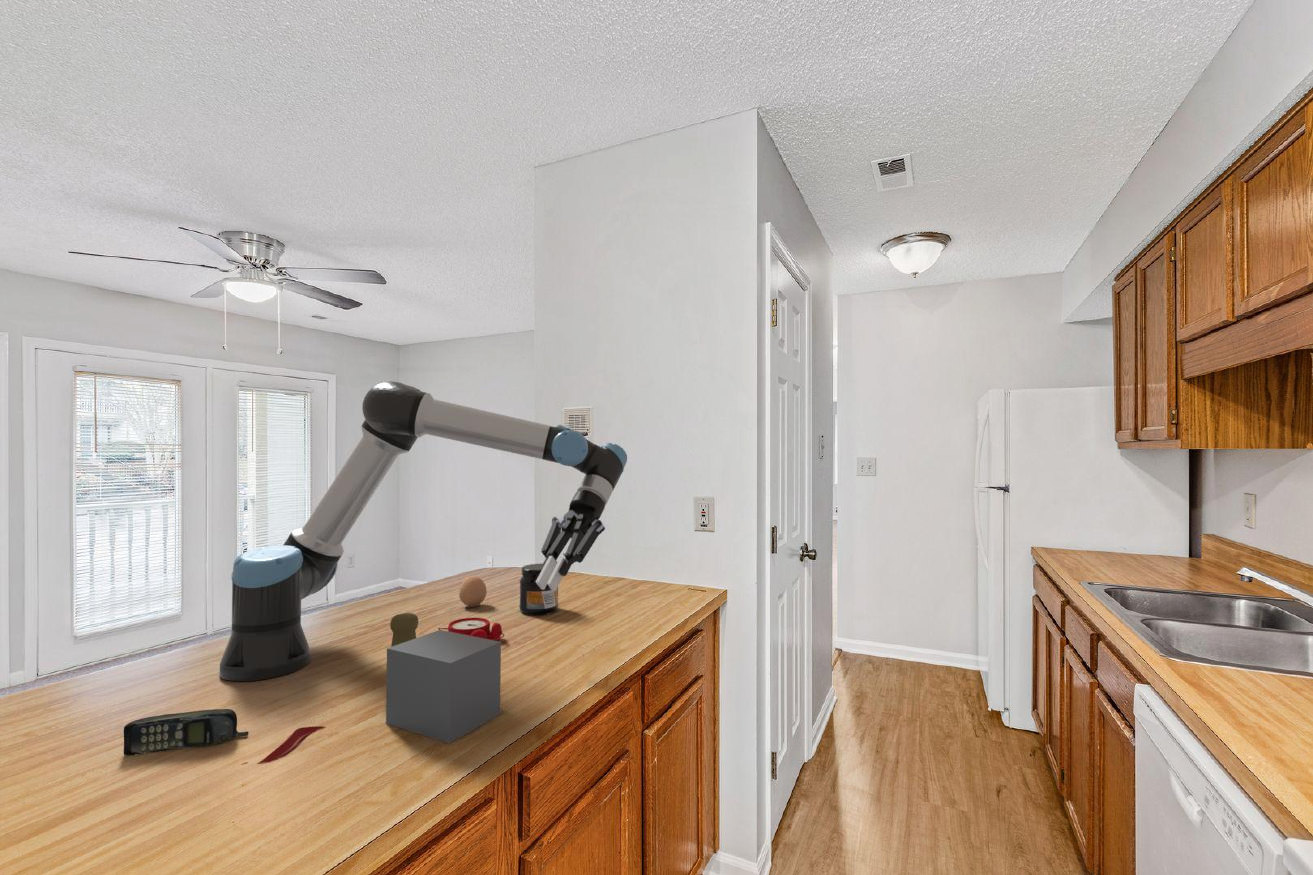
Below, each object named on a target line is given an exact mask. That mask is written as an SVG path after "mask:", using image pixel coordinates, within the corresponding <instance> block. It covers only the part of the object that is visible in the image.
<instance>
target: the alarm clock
mask: <svg viewBox="0 0 1313 875" xmlns="http://www.w3.org/2000/svg"><path fill="white" fill-rule="evenodd" d="M437 629H438V630H446V631H449V632H454V633H459V634H464V635H469V636H474V637H479V638H484V639H489V640H494V641H499V640H500V639H501V638H504V636H505V634H504V633H503V631H502V626H501V624H500V623H499V622H494V623H493V624H492V626H491V622H490V621H489V619H488V618H483V617H465V618H459V619H456V620H453V621H451V622H449V623H448V626H447V627H443V628H441V627H438V628H437Z"/></svg>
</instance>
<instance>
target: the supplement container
mask: <svg viewBox="0 0 1313 875" xmlns="http://www.w3.org/2000/svg"><path fill="white" fill-rule="evenodd" d="M542 564H543V563H532V564H526V565H523V566H522V567H521V577H520V579H519V605H518V606H519V607H518V608H519V610H520V612H521V613H522V614H524V615H528V616H529V615H530V616H543V615H549V614H553V613H555V612H556V611H557V610H558V609H559V586H558V587H557V589H556V591H552V590H551V588H550V587H549V586H548V584H547V585H546V587H545V589H544V590H542V589H541V588H540V587H539V586H538V584H537V583H536V580H537V578H538V576H539V575H540V573H541V566H542Z"/></svg>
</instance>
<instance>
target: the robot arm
mask: <svg viewBox="0 0 1313 875" xmlns="http://www.w3.org/2000/svg"><path fill="white" fill-rule="evenodd" d="M361 409H362V415H363V417H364V420H363V422H362V424H361V426H360V428H361V432H362V437H361V439H360V440H359V442H358V443H357V445H356V447H355V448H354V449H353V451H352V453H350V455H349V457H348V458H347V460H346V462H345V464H344V465H343V466H342V467H341V469H340V471H339V473H338V474H337V475H336V477H335V479H334V480H333V481H332V483H331V485H330V486H329V487H328V489H327V491H326V492H325V494H324V495H323V497H322V498H321V500H320V501H319V503H318V504H317V505H316V507H315V509H314V511H313V512H312V514H311V515H310V517H309V518H308V519H307V521H306V523H305V524H304V525H303V526H301V527H297V528H295V529H292V531H291V532H290V534H289V536H288V537H287V538H286V540H285V541H284V543H283V544H281V545H269V546H262V547H260V548H254V549H251V550H248V551H245V552H243V553H240V554H239V555H238V556H237V557H236V558H235V560H234V562H233V565H232V566H233V567H232V572H231V581H232V582H231V584H232V586H231V635H230V637H229V640H228V642H227V644H226V647H225V650H224V652H223V655H222V657H221V660H220V663H219V677H220V678H221V679H222V680H226V681H230V682H251V681H252V682H253V681H254V682H255V681H261V680H266V679H272V678H276V677H280V676H284V675H287V674H291V673H294V672H295V671H298V670H300V669H302V668H304V667H305V666H307V665H308V664H309V663H310V661H311V649H310V646H309V643H308V639H307V638H306V634H305V631H304V630H303V626H302V618H301V617H302V600H303V599H305V598H307V597H309V596H311V595H314V594H317V592H320V591H321V590H322V589H324V588H325V587H326V586H327V585H328V584H329V583H330V582H331V581H332V580H333V578H334V577H335V575H336V572H337V569H338V562H339V561H340V559H341V557H342V556H343V555H344V552H345V550H344V547H343V544H342V543H343V541H344V540H345V539H346V537H347V536H348V534H349V532H350V531H351V529H352V528H353V526H354V525H355V523H356V522H357V520H358V518H359V517H360V515H361V514H362V512H363V511H364V509H365V508H366V506H367V504H368V503H369V501H370V500H371V498H373V497H372V496H373V495H374V493H376V490H377V489H378V487H379V486H380V484H381V483H382V481H383V480H384V478H385V477H386V476H387V473H388V472H389V471H390V468H392V466H393V465H394V462H395V461H396V460H397V458H398V456H400V455H401V454H405V453H409V452H410V450H411V449H412V447H413V446H414V445H415V443H416V441H417V440H418V438H421V437H423V436H425V435H429V436H433V437H439V438H443V439H445V440H447V439H448V440H451V441H457V442H461V443H465V444H471V445H475V446H479V447H484V448H489V449H493V450H497V451H502V452H507V453H512V454H517V455H521V456H526V457H530V458H535V459H539V460H543V461H548V462H551V463H552V462H553V463H557V464H560V465H562V466H565V467H566V466H567V467H572V468H573V469H575V470H577V471H579V472H581V473H582V474H584V477H583V479H582V481H581V482H580V484H579V486H578V488H577V490H576V492H575V493H574V496H573V497H572V499H571V500H570V503H569V508H568V510H567V512H566V513H564V514H563V516H562V517H559V518H557V516H553V517H552V518H551V526H550V528H549V531H548V533H547V535H546V537H545V540H544V543H543V544H542V548H541V554H542V555H543V556H544V558H545V559H544V561H543V563H541V564H542V566H541V573H540V575H539V576H538V578H537V580H536V583H537V584H538V586H539V587H540V588H541V589H542V590H544V589H545V587H546V585H547V584H548V586H549V587H550V588H551V590H552V591H556V589H557V587H558V588H559V585H560V583H561V581H562V579H563V578H564V577H566V576H567V575H568V573H569V570H570V569H571V567H572V565H574V563H578V564H579V563H582V562H583V561H584V559H585V558H586V556H587V554H588V553H589V552H590V550H591V548H592V547H593V544H594V543H595V542H596V540H597V539H598V537H599V535H601V534H602V533H603V532H604V531H605V530H606V527H605V525H604V524H603V522H602V520H600V518H601V516H602V514H603V512H604V510H605V508H606V506H607V504H608V502H609V500H610V497H611V496H612V494H613V491H615V488H616V486H617V483H618V481H620V478H621V476H622V474H623V472H624V470H625V467H626V464H627V462H628V454H627V452H626V451H625V449H624V448H623V447H621V445H618V444H616V443H615V444H614V443H611V442H606V443H603V444H602V445H597V444H595V443H593V442H592V441H590V440H589V439H587V438H586V437H585V436H584V434H582V433H581V432H580V431H577V430H575V429H574V430H573V429H571V428H569V427H566V426H564V425H562V424H557V425H556V426H551V425H548V424H544V423H539V422H536V421H531V420H526V419H522V418H517V417H514V416H510V415H509V416H508V415H505V414H499V413H495V412H492V411H487V410H482V409H478V408H473V407H469V406H465V405H461V404H458V403H457V404H456V403H451V402H448V401H445V400H444V401H443V400H439V399H435V398H434V397H433V396H432V394H431V393H429V392H425V391H421V390H420V389H419V388H416V387H414V386H412V385H411V386H410V385H407V384H404V383H402V382H398V381H392V380H391V381H384V382H380V383H378V384H375V385H374V386H372V387H371V388H370V389H369V390H368V391H367V393H366V394H365V395H364V398H363V401H362V408H361ZM568 542H569V545H568V547H567V548H566V551H565V553H564V552H563V550H565V547H566V545H567V544H568ZM562 552H563V553H562ZM561 554H562V555H563V557H562V556H560V555H561ZM559 556H560V557H559ZM558 558H559V560H558ZM557 560H558V561H557Z"/></svg>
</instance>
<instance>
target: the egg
mask: <svg viewBox="0 0 1313 875" xmlns="http://www.w3.org/2000/svg"><path fill="white" fill-rule="evenodd" d="M487 592H488V591H487V586H486V583H485V582H484V580H483V579H482V578H481V577H480V576H478V575H470V576H468V577H466V578H465V579H464V580H463V581H462V583H461V585H460V587H459V591H458V596H459V600H460V601H461V602H462V603H463V604H464V605H465V606H467V607H471V608H474V607H477V606H479V605H481V604H482V603H483V601H485V599H486V597H487Z"/></svg>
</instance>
